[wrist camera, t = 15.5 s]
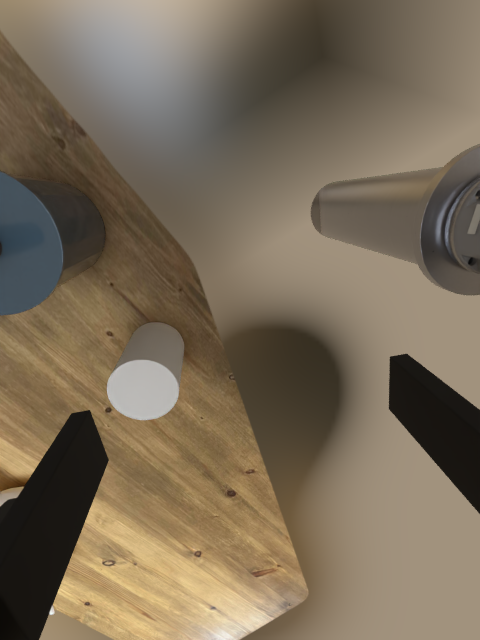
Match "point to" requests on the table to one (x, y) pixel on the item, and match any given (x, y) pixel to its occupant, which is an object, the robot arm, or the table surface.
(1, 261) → the canister lid
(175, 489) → the table surface
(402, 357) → the robot arm
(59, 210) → the canister
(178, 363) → the white cylinder
